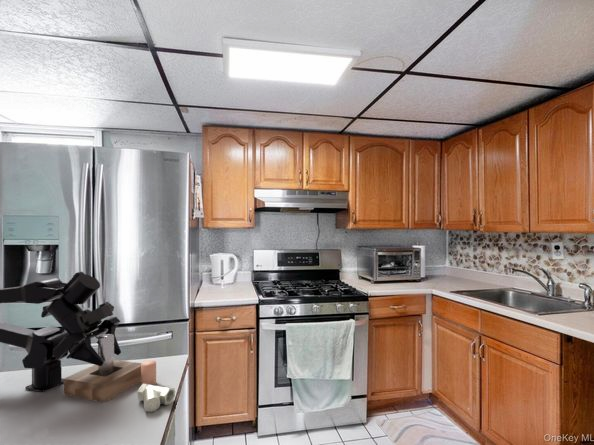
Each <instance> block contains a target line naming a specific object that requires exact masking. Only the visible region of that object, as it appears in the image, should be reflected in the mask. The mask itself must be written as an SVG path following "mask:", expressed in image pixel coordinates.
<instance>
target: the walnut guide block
mask: <svg viewBox="0 0 594 445" xmlns="http://www.w3.org/2000/svg"><path fill="white" fill-rule="evenodd" d="M142 363H143V362H142ZM142 363H141V362H135V361H127V360H120V359H114V373H112V374H110V375H108V376H106V377H104V376H98V365H94V364H92V366H89V367H87V368H85V369H82V370H80V371H78V372H74V373H73V374H71V375H69V376H67V377H65V378H64V377H63V379H64V383H63V395H64V396H67V397H72V398H79V399H84V400H90V401H95V402H100V403H105V402H107V401H109V400H111V399H112V398H114V397H116V396H118V395H120V394H121V393H123V392H124V391H127V390H128V389H130V388H132V387H133V386H135V385H137V384H138V383H141V364H142Z"/></svg>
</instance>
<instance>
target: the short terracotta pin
mask: <svg viewBox="0 0 594 445" xmlns="http://www.w3.org/2000/svg"><path fill="white" fill-rule="evenodd" d="M140 384H141V385H142V384H151V385H154V386H156V385H157V361H156V360H147V361H143V362H142V364H141V381H140ZM141 385H140V386H141Z"/></svg>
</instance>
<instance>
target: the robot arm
mask: <svg viewBox="0 0 594 445" xmlns="http://www.w3.org/2000/svg"><path fill="white" fill-rule="evenodd" d="M100 287H101V283H100V282H99V280H98V279H97V278H95V277H93V276H91V275H90V274H86V273H84V272H83V271H77V272H75V273H74V274H73V276H72V277H71V279H70V280H69V281H68V282H63V281H62V280H61V279H60V278H49V279H48V278H47V279H44V280H39V281H33V282H31V283H30V282H29V283H26V284H24V285H22V286H14V287H6V288H0V304H6V303H13V302H14V303H16V302H24V303H26V304H36V305H40V304H43V303H47V302H50V301H51V302H50V304H48V305H44V306H43V307H42V312H41V315H40V317H41V318H42V319H43V318H46V317H50V316H52V317H53V318H54V320H56V322H58V324H59V325H60V326H61V328H59V327H58V326H54V325H48V326H46V327H43V328H40V329H37V330H35V329H31V328H26V327H24V326H23V327H22V326H19V325H15V324H12V323H7V322H2V321H0V343H1V344H5V345H10V346H13V347H17V348H21V349H24V350H26V351H25V352H27V355H26V356H25V357H24V358H22V361H21V362H22V364H23V367H24V369H31V384H28V385H27V386H25V390H28V391H32V392H33V391H34V392H39V393H43V392H46V391H48V390H51V389H52V388H56V387H57V386H59V385H61V384H64V377H63V376H62V372H63V371H62V369H63V368H62V359H64V358H66V359H68V360H69V359H73V360H78V361H81V362H85V363H89V364H91V365H98V366H102V365H103V364H104V362H103V360H102V359H101V357H100V356H99V355H98V351H96V350H95V349H94V347H93V346H92V339H93V338H96V339H97V340H98V337H99V336H101V335H105V334H113V335H114V355H116V356H119V355H121V354H122V350H121V348H120V346H119V342H118V340H117V337H116V330H117V328H118V325H120V323H121V320H120V319H119V318H118V316H114V313H113V312H114V310H115V306H114V305H112V304H111V303H110V302H109V301H105V302H103V303H101V304H99V305H98V308H95V309H93V310H90V309H88V308H87V309H85V310H83V309H82V308H81V306H79V305H84V304H85V303H87V302H88V301H89V299H90V298H91V297H92V296H93V295H94V294H95V293H96V292H97V291H98V290H99V289H100ZM108 317H109V318H108ZM102 320H103V321H102ZM96 344H98V341H96ZM62 377H63V378H62Z"/></svg>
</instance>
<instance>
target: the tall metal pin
mask: <svg viewBox="0 0 594 445" xmlns="http://www.w3.org/2000/svg"><path fill="white" fill-rule="evenodd" d="M97 342H98V343H97V354H98V355H99V356H100V357H101V359H102V360H103V362H104V364H103V365H102V366H98V376H104V377H106V376H108V375H110V374H112V373H114V360H115V354H114V335H113V334H105V335H101V336H99V337H98V339H97Z"/></svg>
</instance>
